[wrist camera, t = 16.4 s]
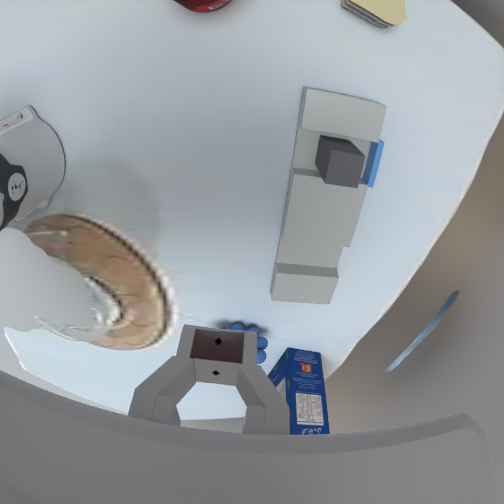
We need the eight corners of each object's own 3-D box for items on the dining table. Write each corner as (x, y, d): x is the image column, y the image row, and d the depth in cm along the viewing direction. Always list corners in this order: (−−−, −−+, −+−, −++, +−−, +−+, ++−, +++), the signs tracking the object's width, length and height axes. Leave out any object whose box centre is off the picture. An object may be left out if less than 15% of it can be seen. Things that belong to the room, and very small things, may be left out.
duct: (270, 290, 53) (270, 304, 50) (303, 86, 33) (307, 88, 30) (329, 294, 53) (332, 308, 50) (381, 103, 33) (392, 107, 30)
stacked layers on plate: (323, 23, 28) (333, 17, 23) (331, -32, 22) (341, -45, 18) (395, 45, 28) (414, 44, 24) (402, -9, 23) (421, -15, 18)
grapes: (207, 332, 60) (199, 381, 51) (211, 311, 56) (203, 362, 47) (262, 341, 61) (261, 390, 52) (270, 321, 58) (271, 373, 48)
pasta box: (276, 402, 80) (276, 489, 57) (250, 398, 79) (246, 488, 56) (320, 352, 64) (332, 469, 41) (287, 347, 63) (292, 470, 40)
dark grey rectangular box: (314, 163, 38) (324, 183, 32) (319, 134, 35) (331, 150, 30) (343, 167, 38) (357, 188, 32) (349, 139, 36) (365, 156, 30)
